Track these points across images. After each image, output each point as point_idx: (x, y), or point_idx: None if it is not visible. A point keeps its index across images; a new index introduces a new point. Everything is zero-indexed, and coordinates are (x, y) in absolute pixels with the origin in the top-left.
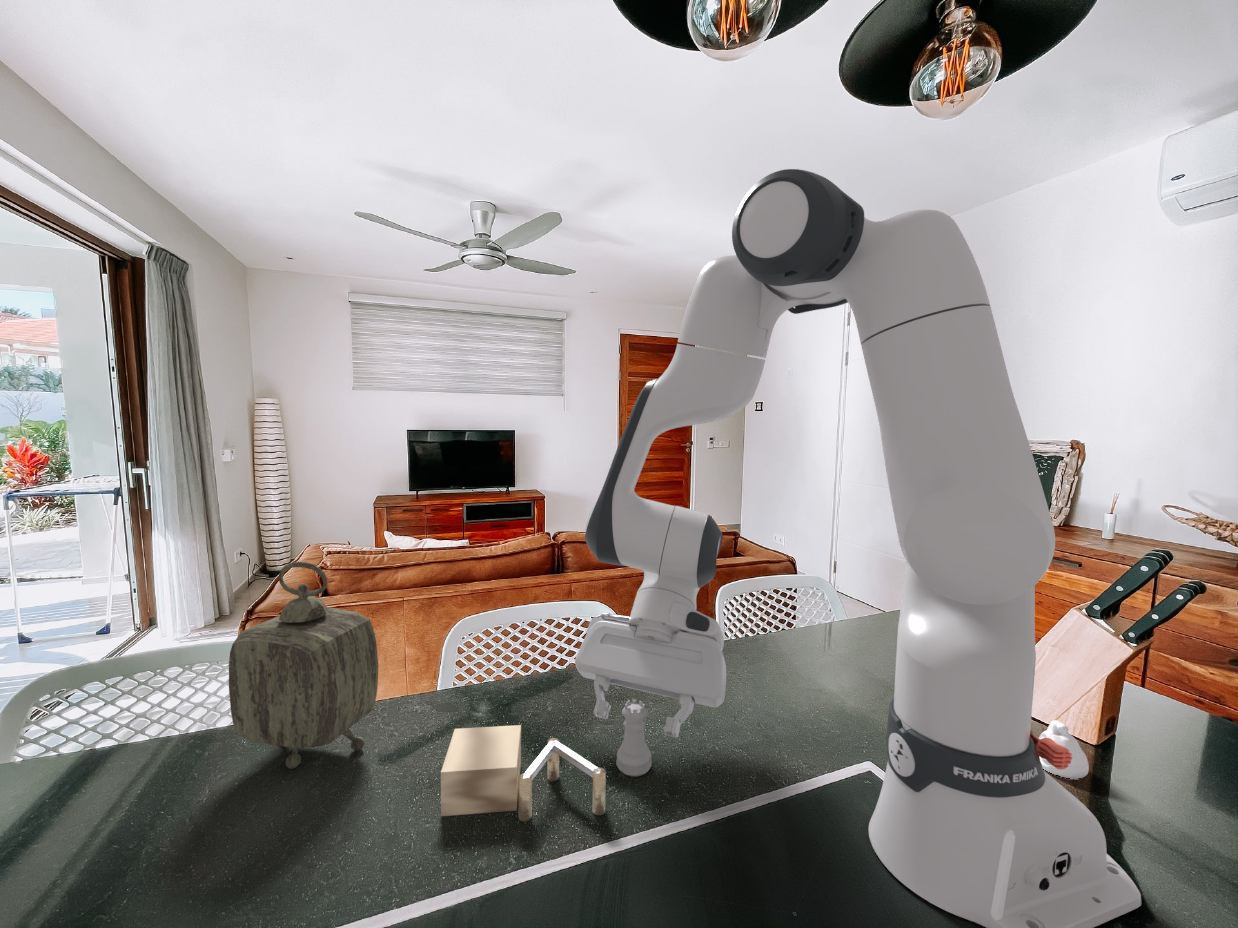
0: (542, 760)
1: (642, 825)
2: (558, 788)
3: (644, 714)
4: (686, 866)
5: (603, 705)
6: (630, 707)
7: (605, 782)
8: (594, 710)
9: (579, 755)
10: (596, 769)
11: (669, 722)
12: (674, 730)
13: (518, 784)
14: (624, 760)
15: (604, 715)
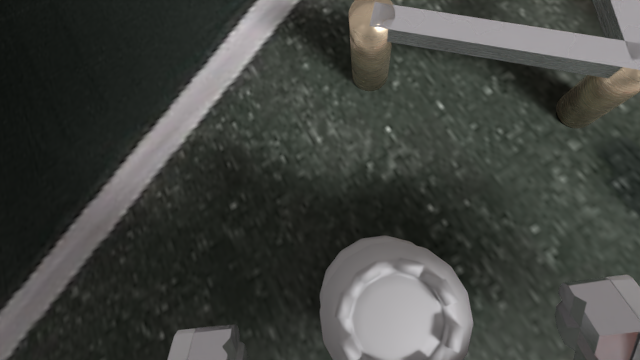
0: None
1: (243, 94)
2: (525, 82)
3: (328, 310)
4: (105, 46)
5: (602, 310)
6: (417, 301)
7: (351, 41)
8: (628, 277)
9: (491, 44)
10: (388, 19)
11: (207, 357)
12: (179, 333)
13: None
14: (391, 240)
15: (563, 292)
